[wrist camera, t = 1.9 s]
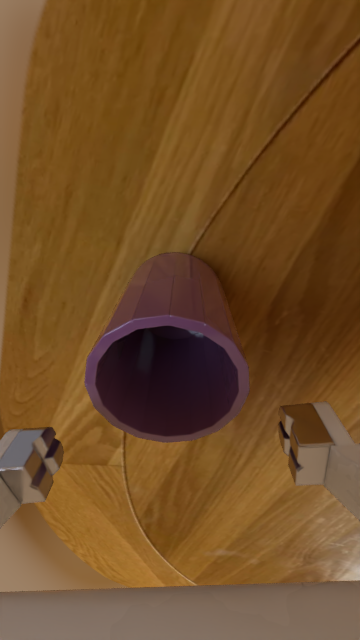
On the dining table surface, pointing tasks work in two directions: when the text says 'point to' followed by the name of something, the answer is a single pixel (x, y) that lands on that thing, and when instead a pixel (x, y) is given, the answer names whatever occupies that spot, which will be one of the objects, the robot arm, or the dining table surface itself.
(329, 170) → the dining table surface
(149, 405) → the cup
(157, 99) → the dining table surface
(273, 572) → the dining table surface
